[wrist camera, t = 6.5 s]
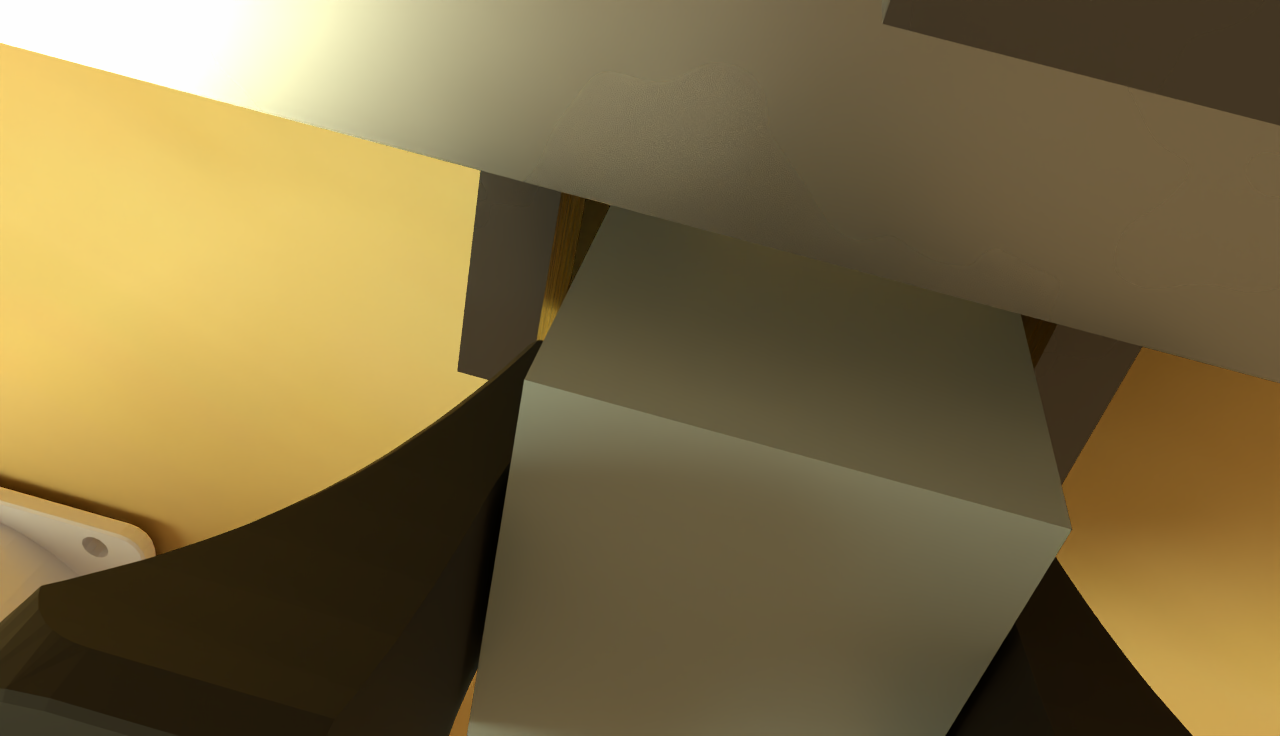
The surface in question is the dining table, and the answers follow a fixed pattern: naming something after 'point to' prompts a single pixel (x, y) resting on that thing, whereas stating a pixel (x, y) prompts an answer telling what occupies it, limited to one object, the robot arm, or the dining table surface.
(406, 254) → the dining table surface
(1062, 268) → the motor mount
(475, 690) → the grey block
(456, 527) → the robot arm
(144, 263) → the dining table surface
